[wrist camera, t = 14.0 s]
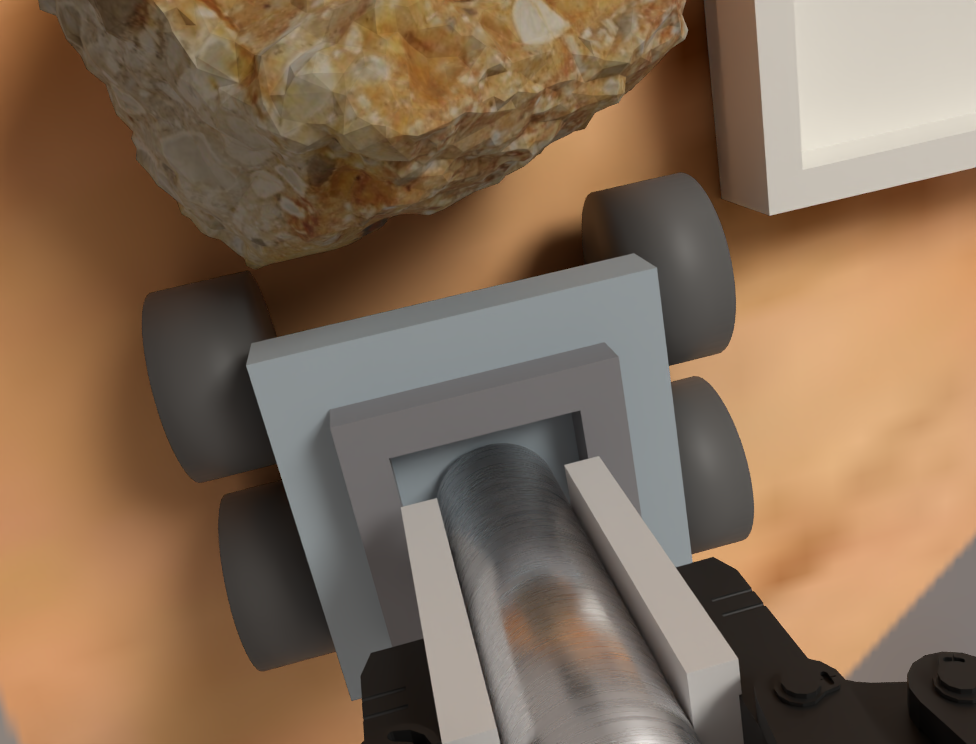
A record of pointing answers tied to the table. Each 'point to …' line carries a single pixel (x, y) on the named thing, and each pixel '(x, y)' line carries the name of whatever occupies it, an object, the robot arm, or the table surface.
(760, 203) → the tray
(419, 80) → the rock
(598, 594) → the pin
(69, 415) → the table surface
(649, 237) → the trolley
